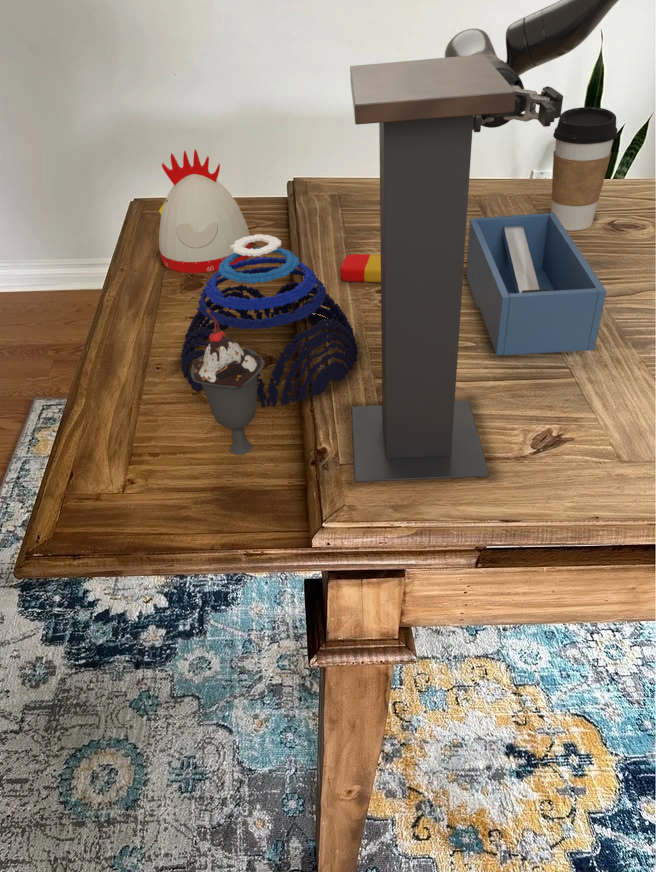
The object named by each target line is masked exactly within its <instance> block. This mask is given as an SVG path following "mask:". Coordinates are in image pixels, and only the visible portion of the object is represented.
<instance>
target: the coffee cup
mask: <svg viewBox="0 0 656 872" xmlns="http://www.w3.org/2000/svg"><path fill="white" fill-rule="evenodd" d="M618 130H619V129H618V128H617V116H616V114H615V113H614V112H613V111H611V110H610V109H607V108H604V107H595V106H594V107H593V106H581V107H574V108H570V109H567V110H565V111H563V112H561V117H559V118H558V122H557V126H556V127H555V128H554V131H553V135H552V136H553V138H554V139H555V145H554V147H555V148H554V150H553V153H552V154H553V159H552V181H551V182H552V183H551V184H552V185H551V207H550V208H551V209H550V213H555V215H556V216H557V218H558V219H559V221H560V222H561V224H562V225H563V227H564V228H565V230H566V231H567V232H568V231H571V232H573V231H574V232H575V231H583V230H586V229H589V228H590V227H592V225H593V222H594V219H595V214H596V210H597V206H598V203H599V199H600V196H601V193H602V189H603V186H604V182H605V178H606V174H607V171H608V167H609V163H610V160H611V156H612V151H611V150H612V147H613V144H614V140H615V139H616V138H617V137H618Z"/></svg>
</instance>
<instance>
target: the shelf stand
mask: <svg viewBox="0 0 656 872" xmlns="http://www.w3.org/2000/svg"><path fill="white" fill-rule="evenodd" d="M349 73H350V75H349V77H350V91H351V97H352V98H351V99H352V107H353V117H354V125H357V126H358V125H369V124H378V128H379V129H378V130H379V131H378V132H379V133H378V134H379V135H378V136H379V140H378V141H379V143H378V144H379V225H380V226H379V227H380V235H379V236H380V238H379V239H380V243H379V244H380V255H381V282H380V328H381V329H380V331H381V332H380V334H381V335H380V336H381V338H380V339H381V404H376V405H358V406H356V405H355V406H354V405H353V406H351V407H350V409H351V430H352V431H351V433H352V452H353V453H352V454H353V471H354V472H353V473H354V475H353V477H354V482H355V483H373V482H392V481H394V482H396V481H397V482H399V481H415V480H416V481H418V480H419V481H420V480H421V481H422V480H442V479H444V480H445V479H464V478H466V479H467V478H468V479H469V478H489V477H490V472H489V468H488V464H487V460H486V457H485V453H484V450H483V446H482V443H481V438H480V434H479V431H478V427H477V423H476V420H475V416H474V412H473V409H472V405H471V401H470V400H456V389H457V388H456V387H457V373H458V359H459V357H458V356H459V355H458V354H459V342H460V326H461V325H460V324H461V314H462V313H461V312H462V311H461V310H462V299H463V298H462V297H463V296H462V295H463V284H464V283H463V282H464V281H463V279H464V268H465V266H464V265H465V251H466V250H465V249H466V238H467V237H466V236H467V235H466V234H467V220H468V219H467V218H468V207H469V206H468V205H469V191H470V189H469V188H470V176H471V175H470V173H471V159H472V146H473V145H472V143H473V115H481V114H493V113H505V112H513V111H514V103H515V93H516V92H515V90H514V89H513V88H512V87H511V86H510V85H509V83H508V82H507V81H506V80H505V79H504V78H503V76H502V75H501V74H500V73H499V72H498V71H497V69H496V68H495V67H494V66H493V65H492V64H491V62H490V61H489V60H488V59H487V58H486V56H485V55H484V54H481V55H470V56H458V57H447V58H445V57H436V58H426V59H416V60H415V59H414V60H402V61H393V62H379V63H369V64H368V63H367V64H359V65H356V64H355V65H350V66H349Z"/></svg>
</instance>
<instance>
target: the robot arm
mask: <svg viewBox="0 0 656 872" xmlns="http://www.w3.org/2000/svg"><path fill="white" fill-rule="evenodd" d="M619 1H620V0H558V1H556V2H554V3H552V4H550V5H548V6H545V7H543V8H541V9H539V10H537V11H535V12H532V13H530V14H528V15H526V16H524V17H521V18H520V19H518V20H515V21H514V22H512V23H511V24H509V26H508V27H507V28H506V31H505V50H506V52H505V53H506V60H505V61H504V60H502V59H500V58H499V57H498V55H497V53H496V50H495V48H494V45H493V43H492V41H491V39H490V36H489V34H488V33H487V32H486V31H484V30H483V29H480V28H468V29H465V30H461V31H460V32H458V33H456V34H455V35H454V36H453V37H452V38H451V39H450V41H449V42H448V43H447V44H446V47H445V50H444V58H447V57H458V56H470V55H481V54H484V55H485V56H486V58H487V59H488V60H489V61H490V62H491V64H492V65H493V66H494V67H495V68H496V69H497V71H498V72H499V73H500V74H501V75H502V76H503V78H504V79H505V80H506V81H507V82H508V83H509V85H510V86H511V87H512V88H513V89H514V90H515V92H516V93H515V103H514V111H513V112H505V113H493V114H481V115H473V130H472V132H473V133H481V130H482V127H484V128H488V129H494V128H499V127H502V126H505V125H506V124H508V123H509V122H510V121H513V120H516V121H521V122H525V123H526V122H529V121H533V120H536V121H538V123H540V124H541V126H542V127H543V128H546V127H547V128H548V127H551V124H552V123H554V122H555V120H556V119H559V118H560V117H561V114H562V110H563V101H564V95H563V94H562V93H560V92H559V91H558V90H556V89H555V88H554V87H551V86H549V85H548V86H544V87H542V89H541V92H540V93H539V94H538V92H537V91H536V90H532V89H526V88H525V87H524V83H523V81H522V79H521V77H520V76H521V75H523V74H525V73H526V72H528V71H530V70H532V69H534V68H537V67H539V66H542V65H544V64H546V63H549V62H551V61H553V60H556V59H558V58H560V57H563V56H564V55H566V54H568V53H570V52H572V51H573V50H575V49H576V48H578V47H579V46H580V45H581V44H582V43H583V42H584V41H586V40H587V38H588V37H589V36H590V35H591V34H592V33H593V32H594V31H595V30H596V28H597V27H598V26H599V24H601V22H602V20H603V19H604V18H605V17H606V15H607V14H608V13H609V12H610V11H611V10H612V9H613V7H614V6H615V5H616V4H617V3H618V2H619ZM537 106H538V111H536V110H537Z"/></svg>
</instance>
